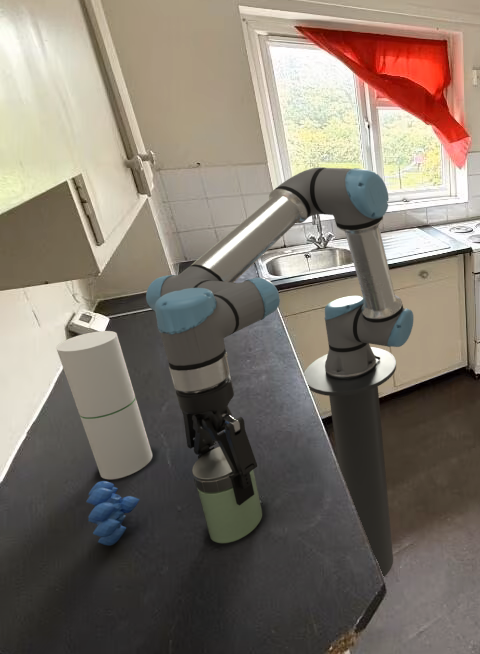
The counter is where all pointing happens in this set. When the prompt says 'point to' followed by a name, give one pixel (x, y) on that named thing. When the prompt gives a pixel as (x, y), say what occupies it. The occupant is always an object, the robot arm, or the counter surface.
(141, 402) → the counter surface
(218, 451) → the flask lid
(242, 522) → the flask
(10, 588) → the counter surface
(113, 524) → the grapes
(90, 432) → the container
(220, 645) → the counter surface
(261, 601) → the counter surface
